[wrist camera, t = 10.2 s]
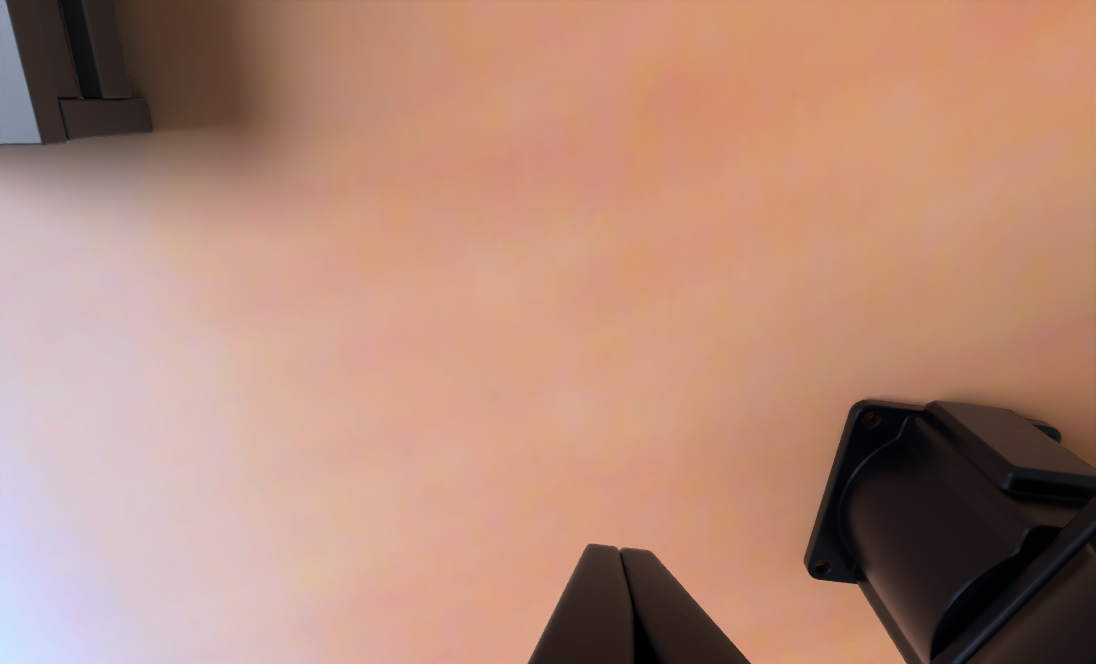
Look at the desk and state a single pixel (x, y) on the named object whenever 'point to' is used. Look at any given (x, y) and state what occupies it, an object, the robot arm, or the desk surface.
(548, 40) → the desk surface
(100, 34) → the chair
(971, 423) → the robot arm
